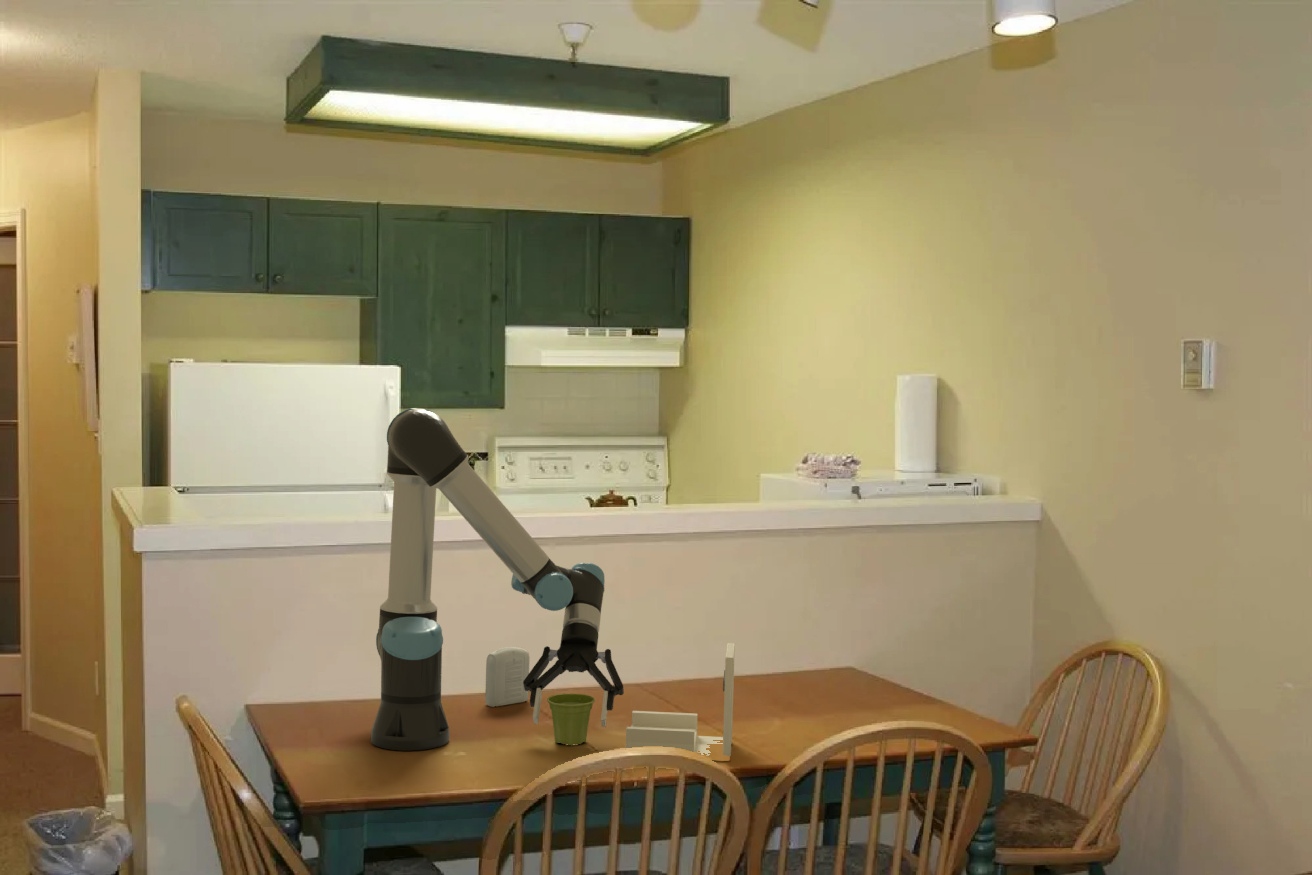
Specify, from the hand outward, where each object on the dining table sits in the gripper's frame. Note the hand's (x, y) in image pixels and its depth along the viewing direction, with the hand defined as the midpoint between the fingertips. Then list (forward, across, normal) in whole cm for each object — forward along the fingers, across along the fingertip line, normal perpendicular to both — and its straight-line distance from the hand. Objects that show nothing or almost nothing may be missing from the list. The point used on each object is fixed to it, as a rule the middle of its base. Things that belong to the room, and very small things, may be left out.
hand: (569, 721), depth 276 cm
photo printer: (-19, +18, -26) cm, 36 cm away
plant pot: (+2, 0, -5) cm, 5 cm away
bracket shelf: (+3, -22, -4) cm, 22 cm away
